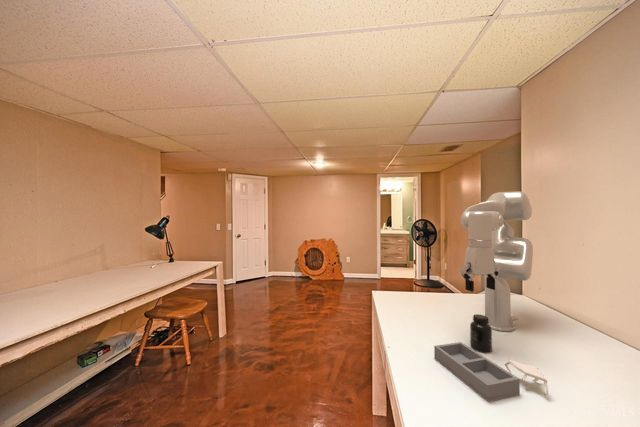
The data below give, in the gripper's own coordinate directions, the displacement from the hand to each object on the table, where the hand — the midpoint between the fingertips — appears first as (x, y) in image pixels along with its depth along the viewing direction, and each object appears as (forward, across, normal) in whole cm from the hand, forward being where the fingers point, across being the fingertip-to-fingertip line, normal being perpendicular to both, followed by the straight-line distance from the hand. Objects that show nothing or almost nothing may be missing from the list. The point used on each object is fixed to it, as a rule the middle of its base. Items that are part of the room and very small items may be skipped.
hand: (480, 289), depth 95 cm
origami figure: (+22, +4, +19) cm, 30 cm away
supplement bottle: (+22, 0, 0) cm, 22 cm away
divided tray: (+22, +16, +12) cm, 30 cm away
